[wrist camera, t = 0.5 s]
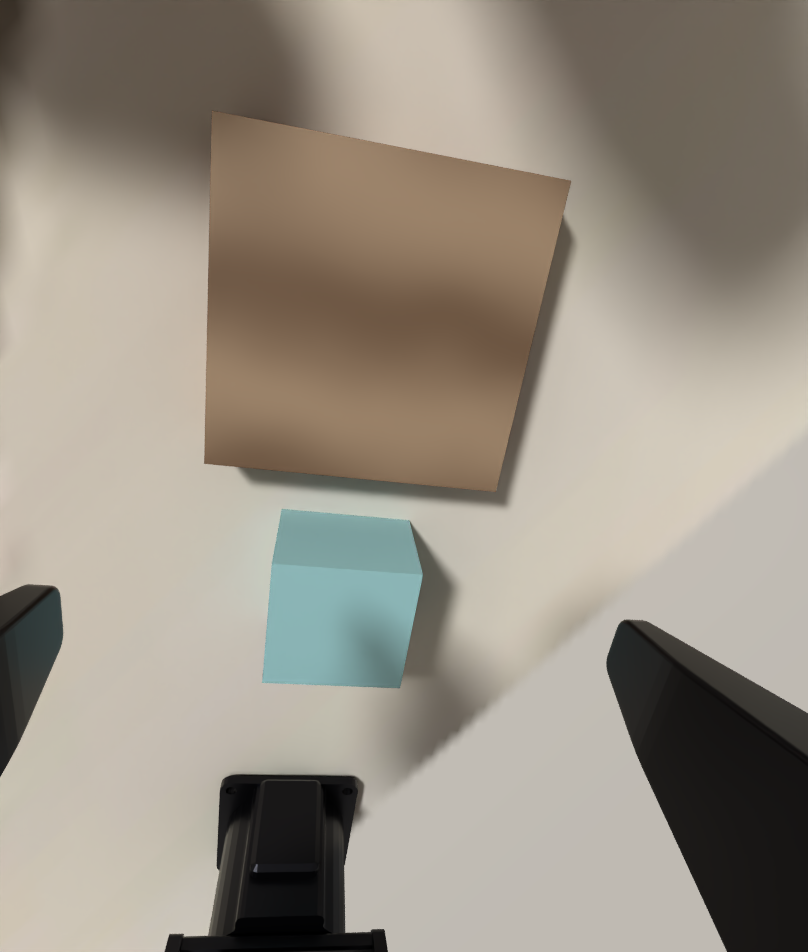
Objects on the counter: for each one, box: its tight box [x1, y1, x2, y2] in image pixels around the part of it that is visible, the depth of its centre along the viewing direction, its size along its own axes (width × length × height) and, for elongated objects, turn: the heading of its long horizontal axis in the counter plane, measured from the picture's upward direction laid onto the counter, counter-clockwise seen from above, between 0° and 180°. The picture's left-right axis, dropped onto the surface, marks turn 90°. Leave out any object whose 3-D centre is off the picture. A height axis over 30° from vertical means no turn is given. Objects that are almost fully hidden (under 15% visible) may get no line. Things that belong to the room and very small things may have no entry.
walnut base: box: [204, 111, 571, 492], centre depth 18 cm, size 10×10×2 cm
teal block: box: [262, 509, 423, 688], centre depth 22 cm, size 5×5×4 cm
